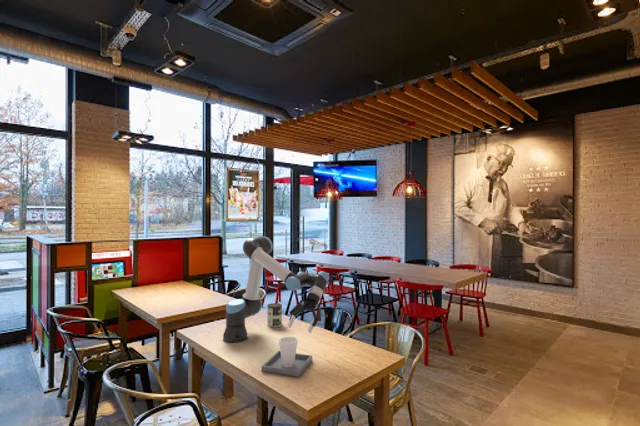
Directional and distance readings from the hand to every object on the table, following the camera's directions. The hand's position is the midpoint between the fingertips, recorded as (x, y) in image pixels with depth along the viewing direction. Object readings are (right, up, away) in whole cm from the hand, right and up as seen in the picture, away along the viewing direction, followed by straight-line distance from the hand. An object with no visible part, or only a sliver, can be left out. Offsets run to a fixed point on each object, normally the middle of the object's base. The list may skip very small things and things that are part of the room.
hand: (299, 329), depth 189 cm
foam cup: (-5, -16, -8) cm, 19 cm away
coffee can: (-21, -16, +58) cm, 64 cm away
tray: (-5, -17, -8) cm, 19 cm away
